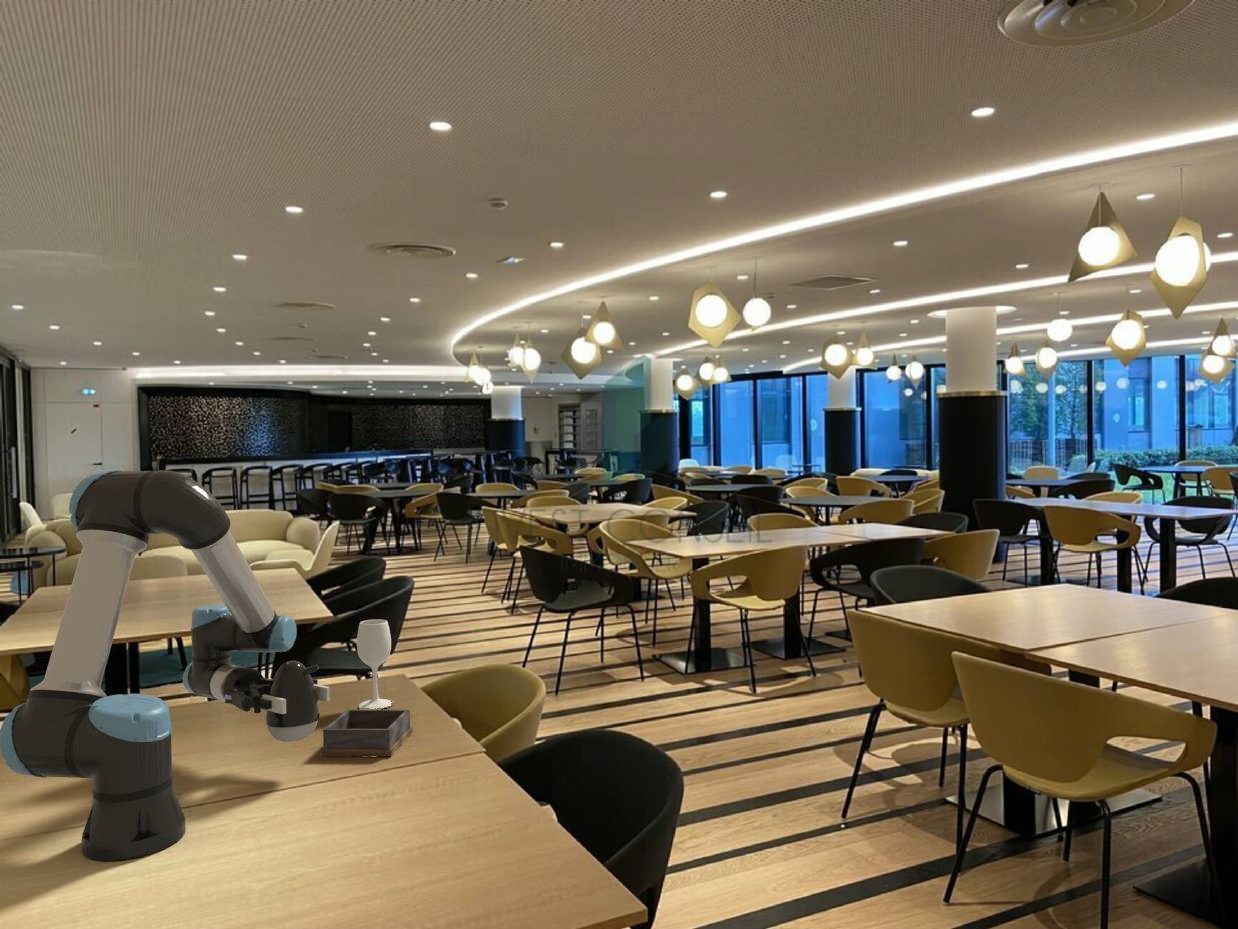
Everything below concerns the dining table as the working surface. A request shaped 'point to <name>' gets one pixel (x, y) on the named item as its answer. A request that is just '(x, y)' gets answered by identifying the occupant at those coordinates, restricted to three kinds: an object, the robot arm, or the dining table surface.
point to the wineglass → (374, 654)
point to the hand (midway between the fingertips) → (306, 700)
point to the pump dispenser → (294, 703)
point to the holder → (367, 733)
